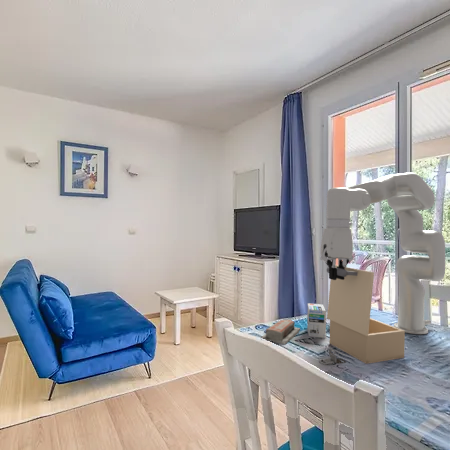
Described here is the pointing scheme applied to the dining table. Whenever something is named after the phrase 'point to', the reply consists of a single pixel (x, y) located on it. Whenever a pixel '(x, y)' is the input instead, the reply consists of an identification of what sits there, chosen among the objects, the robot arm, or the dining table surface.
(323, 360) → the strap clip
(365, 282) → the carton lid
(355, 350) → the kraft carton
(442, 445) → the dining table surface
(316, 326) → the light bulb box
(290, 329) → the packaged product
